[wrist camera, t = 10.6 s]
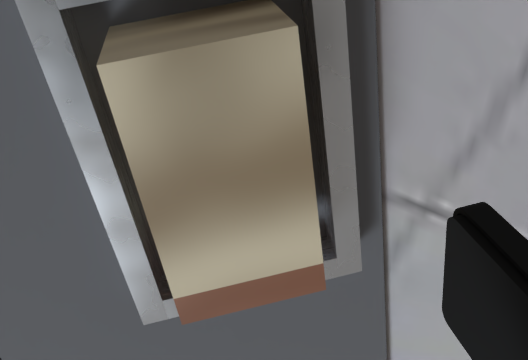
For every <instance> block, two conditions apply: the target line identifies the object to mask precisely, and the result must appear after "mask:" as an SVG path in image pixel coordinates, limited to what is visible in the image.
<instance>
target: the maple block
mask: <svg viewBox="0 0 528 360" xmlns="http://www.w3.org/2000/svg"><path fill="white" fill-rule="evenodd" d="M96 66H97V69H98V72H99V75H100V78H101V81H102V84H103V87H104V90H105V93H106V96H107V99H108V102H109V106H110V109H111V112H112V115H113V118H114V121H115V124H116V127H117V130H118V133H119V136H120V139H121V142H122V145H123V148H124V151H125V154H126V157H127V160H128V163H129V166H130V169H131V172H132V175H133V178H134V181H135V184H136V187H137V190H138V193H139V196H140V199H141V202H142V205H143V208H144V212H145V215H146V218H147V221H148V224H149V227H150V230H151V233H152V236H153V239H154V242H155V245H156V248H157V251H158V254H159V257H160V260H161V263H162V266H163V269H164V272H165V275H166V278H167V281H168V284H169V287H170V290H171V293H172V296H173V299H174V302H175V305H176V308H177V311H178V314H179V318H180V321H181V324H182V325H184V324H188V323H192V322H196V321H201V320H205V319H209V318H213V317H217V316H221V315H225V314H229V313H233V312H237V311H241V310H245V309H250V308H254V307H258V306H262V305H266V304H270V303H274V302H278V301H282V300H286V299H290V298H294V297H298V296H303V295H307V294H311V293H315V292H319V291H323V290H326V282H325V273H324V264H323V255H322V245H321V236H320V227H319V217H318V208H317V199H316V190H315V180H314V171H313V162H312V153H311V143H310V134H309V125H308V116H307V106H306V97H305V88H304V78H303V69H302V60H301V51H300V41H299V32H298V25H297V24H296V23H295V22H294V21H292V20H291V19H290V18H289V17H288V16H287V15H286V14H285V13H284V12H283V11H282V10H281V9H280V8H279V7H278V6H277V5H276V4H275V3H274V2H273V1H272V0H246V1H241V2H236V3H231V4H225V5H220V6H215V7H210V8H204V9H199V10H194V11H189V12H184V13H178V14H173V15H168V16H163V17H157V18H152V19H147V20H142V21H137V22H131V23H126V24H121V25H116V26H111V27H109V30H108V32H107V35H106V38H105V41H104V44H103V47H102V50H101V53H100V56H99V59H98V62H97V65H96Z"/></svg>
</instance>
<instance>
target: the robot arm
mask: <svg viewBox="0 0 528 360" xmlns="http://www.w3.org/2000/svg"><path fill="white" fill-rule="evenodd" d="M442 311H443V315H444V318H445V320H446V322H447V324H448V326H449V327H450V329H451V330H452V331H453V333H454V334H455V336H456V337H457V339H458V340H459V341H460V343H461V344H462V346H463V347H464V349H465V350H466V351H467V353H468V354H469V356H470V357H471V359H472V360H528V240H527V239H526V238H525V237H523V236H522V235H521V234H520V233H519V232H518V231H517V230H516V229H515V228H514V227H513V226H512V225H510V224H509V223H508V222H507V221H506V220H505V219H504V218H503V217H502V216H501V215H500V214H498V213H497V212H496V211H495V210H494V209H493V208H492V207H491V206H490V205H488V204H487V203H485V202H480V203H476V204H472V205H468V206H464V207H460V208H457V209H456V210H455V211H454V214H453V217H450V218H449V219H448V220H447V231H446V248H445V265H444V283H443V300H442ZM0 360H1V358H0Z"/></svg>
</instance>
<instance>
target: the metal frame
mask: <svg viewBox="0 0 528 360" xmlns="http://www.w3.org/2000/svg"><path fill="white" fill-rule="evenodd" d="M103 1H108V0H15V2H16V5H17V7H18V10H19V13H20V15H21V18H22V20H23V23H24V25H25V28H26V30H27V33H28V35H29V38H30V40H31V43H32V45H33V48H34V50H35V53H36V55H37V58H38V60H39V63H40V65H41V68H42V70H43V73H44V75H45V78H46V81H47V83H48V86H49V88H50V91H51V93H52V96H53V98H54V101H55V103H56V106H57V108H58V111H59V113H60V116H61V118H62V121H63V123H64V126H65V128H66V131H67V133H68V136H69V138H70V141H71V143H72V146H73V148H74V151H75V154H76V156H77V159H78V161H79V164H80V166H81V169H82V171H83V174H84V176H85V179H86V181H87V184H88V186H89V189H90V191H91V194H92V196H93V199H94V201H95V204H96V206H97V209H98V211H99V214H100V216H101V219H102V222H103V224H104V227H105V229H106V232H107V234H108V237H109V239H110V242H111V244H112V247H113V249H114V252H115V254H116V257H117V259H118V262H119V264H120V267H121V269H122V272H123V274H124V277H125V279H126V282H127V284H128V287H129V289H130V292H131V295H132V297H133V300H134V302H135V305H136V307H137V310H138V312H139V315H140V317H141V320H142V322H143V325H147V324H151V323H155V322H159V321H163V320H167V319H171V318H175V317H179V314H178V311H177V308H176V305H175V302H174V299H173V296H172V293H171V290H170V287H169V284H168V281H167V278H166V275H162V274H161V271H160V268H159V265H158V263H157V260H156V257H155V254H154V251H153V248H152V245H151V242H150V239H149V236H148V233H147V231H146V228H145V225H144V222H143V219H142V216H141V213H140V210H139V207H138V204H137V201H136V199H135V196H134V193H133V190H132V187H131V184H130V181H129V178H128V175H127V172H126V169H125V167H124V164H123V161H122V158H121V155H120V152H119V149H118V146H117V143H116V140H115V137H114V135H113V132H112V129H111V126H110V123H109V120H108V117H107V114H106V111H105V108H104V105H103V103H102V100H101V97H100V94H99V91H98V88H97V85H96V82H95V79H94V76H93V73H92V71H91V68H90V65H89V62H88V59H87V56H86V53H85V50H84V47H83V44H82V42H81V39H80V36H79V33H78V30H77V27H76V24H75V21H74V18H73V15H72V12H71V10H70V8H72V7H77V6H82V5H87V4H92V3H98V2H103ZM300 1H301V10H302V19H303V29H304V38H305V47H306V56H307V66H308V75H309V84H310V93H311V102H312V112H313V121H314V130H315V139H316V149H317V158H318V167H319V176H320V186H321V195H322V204H323V213H324V223H325V232H326V236H323V237H321V245H322V255H323V264H324V273H325V280H328V279H332V278H336V277H340V276H344V275H348V274H352V273H356V272H360V271H362V260H361V244H360V229H359V213H358V197H357V181H356V165H355V149H354V133H353V117H352V102H351V86H350V70H349V54H348V38H347V22H346V6H345V0H300Z"/></svg>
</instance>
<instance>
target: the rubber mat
mask: <svg viewBox="0 0 528 360" xmlns="http://www.w3.org/2000/svg"><path fill="white" fill-rule="evenodd" d="M241 1H246V0H108V1H103V2H98V3H92V4H87V5H82V6H77V7H72V8H70V10H71V12H72V15H73V18H74V21H75V24H76V27H77V30H78V33H79V36H80V39H81V42H82V44H83V47H84V50H85V53H86V56H87V59H88V62H89V65H90V68H91V71H92V73H93V76H94V79H95V82H96V85H97V88H98V91H99V94H100V97H101V100H102V103H103V105H104V108H105V111H106V114H107V117H108V120H109V123H110V126H111V129H112V132H113V135H114V137H115V140H116V143H117V146H118V149H119V152H120V155H121V158H122V161H123V164H124V167H125V169H126V172H127V175H128V178H129V181H130V184H131V187H132V190H133V193H134V196H135V199H136V201H137V204H138V207H139V210H140V213H141V216H142V219H143V222H144V225H145V228H146V231H147V233H148V236H149V239H150V242H151V245H152V248H153V251H154V254H155V257H156V260H157V263H158V265H159V268H160V271H161V274H162V275H165V272H164V269H163V266H162V263H161V260H160V257H159V254H158V251H157V248H156V245H155V242H154V239H153V236H152V233H151V230H150V227H149V224H148V221H147V218H146V215H145V212H144V208H143V205H142V202H141V199H140V196H139V193H138V190H137V187H136V184H135V181H134V178H133V175H132V172H131V169H130V166H129V163H128V160H127V157H126V154H125V151H124V148H123V145H122V142H121V139H120V136H119V133H118V130H117V127H116V124H115V121H114V118H113V115H112V112H111V109H110V106H109V102H108V99H107V96H106V93H105V90H104V87H103V84H102V81H101V78H100V75H99V72H98V69H97V66H96V65H97V62H98V59H99V56H100V53H101V50H102V47H103V44H104V41H105V38H106V35H107V32H108V30H109V27H111V26H116V25H121V24H126V23H131V22H137V21H142V20H147V19H152V18H157V17H163V16H168V15H173V14H178V13H184V12H189V11H194V10H199V9H204V8H210V7H215V6H220V5H225V4H231V3H236V2H241ZM272 1H273V2H274V3H275V4H276V5H277V6H278V7H279V8H280V9H281V10H282V11H283V12H284V13H285V14H286V15H287V16H288V17H289V18H290V19H291V20H292V21H294V22H295V23H296V24H297V25H298V32H299V41H300V51H301V60H302V69H303V78H304V88H305V97H306V106H307V116H308V125H309V134H310V143H311V153H312V162H313V171H314V180H315V190H316V199H317V208H318V217H319V227H320V236H321V237H323V236H326V232H325V223H324V213H323V204H322V195H321V186H320V176H319V167H318V158H317V149H316V139H315V130H314V121H313V112H312V102H311V93H310V84H309V75H308V66H307V56H306V47H305V38H304V29H303V19H302V10H301V1H300V0H272ZM345 6H346V22H347V38H348V54H349V70H350V86H351V102H352V117H353V133H354V149H355V165H356V181H357V197H358V213H359V229H360V244H361V260H362V271H360V272H356V273H352V274H348V275H344V276H340V277H336V278H332V279H328V280H325V282H326V290H323V291H319V292H315V293H311V294H307V295H303V296H298V297H294V298H290V299H286V300H282V301H278V302H274V303H270V304H266V305H262V306H258V307H254V308H250V309H245V310H241V311H237V312H233V313H229V314H225V315H221V316H217V317H213V318H209V319H205V320H201V321H196V322H192V323H188V324H184V325H182V324H181V321H180V318H179V317H175V318H171V319H167V320H163V321H159V322H155V323H151V324H147V325H143V322H142V320H141V317H140V315H139V312H138V310H137V307H136V305H135V302H134V300H133V297H132V295H131V292H130V289H129V287H128V284H127V282H126V279H125V277H124V274H123V272H122V269H121V267H120V264H119V262H118V259H117V257H116V254H115V252H114V249H113V247H112V244H111V242H110V239H109V237H108V234H107V232H106V229H105V227H104V224H103V222H102V219H101V216H100V214H99V211H98V209H97V206H96V204H95V201H94V199H93V196H92V194H91V191H90V189H89V186H88V184H87V181H86V179H85V176H84V174H83V171H82V169H81V166H80V164H79V161H78V159H77V156H76V154H75V151H74V148H73V146H72V143H71V141H70V138H69V136H68V133H67V131H66V128H65V126H64V123H63V121H62V118H61V116H60V113H59V111H58V108H57V106H56V103H55V101H54V98H53V96H52V93H51V91H50V88H49V86H48V83H47V81H46V78H45V75H44V73H43V70H42V68H41V65H40V63H39V60H38V58H37V55H36V53H35V50H34V48H33V45H32V43H31V40H30V38H29V35H28V33H27V30H26V28H25V25H24V23H23V20H22V18H21V15H20V13H19V10H18V7H17V5H16V2H15V0H0V358H1V360H387V348H386V318H385V287H384V256H383V226H382V195H381V164H380V134H379V103H378V72H377V42H376V11H375V0H345Z"/></svg>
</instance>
